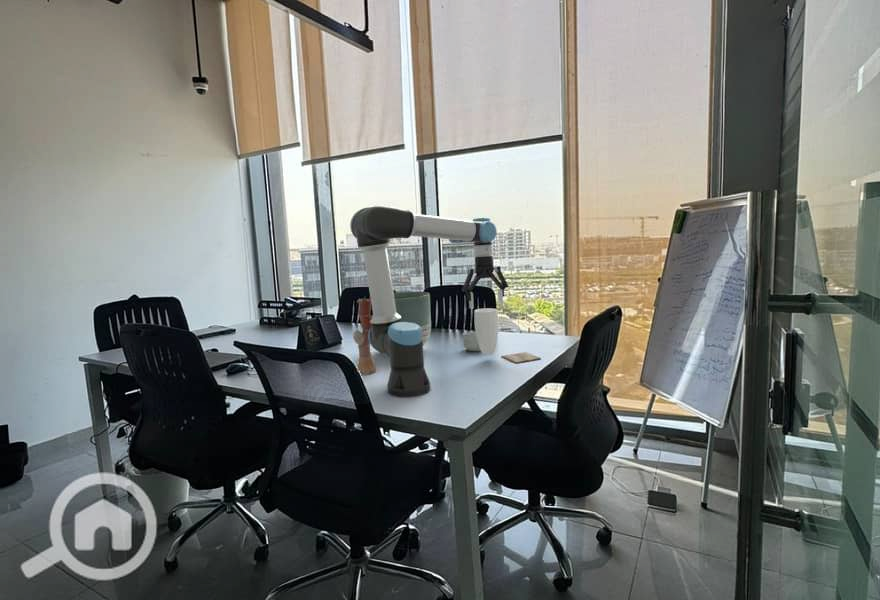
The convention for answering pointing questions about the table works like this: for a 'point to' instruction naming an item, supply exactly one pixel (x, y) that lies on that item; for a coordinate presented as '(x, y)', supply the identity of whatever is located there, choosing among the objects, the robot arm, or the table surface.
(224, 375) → the table surface
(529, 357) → the coaster
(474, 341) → the teacup
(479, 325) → the cup
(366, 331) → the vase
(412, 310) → the planter
